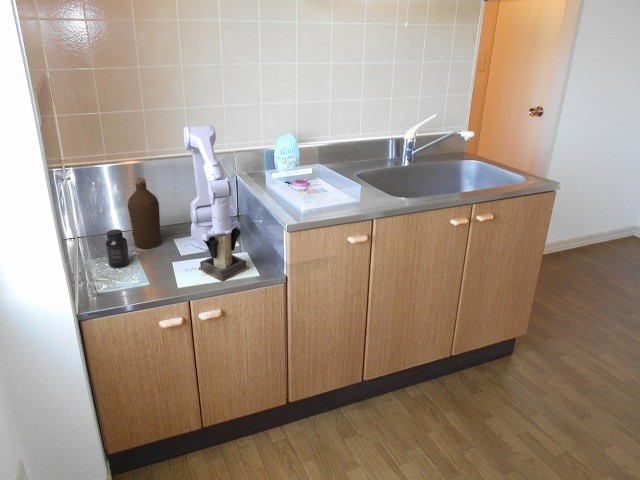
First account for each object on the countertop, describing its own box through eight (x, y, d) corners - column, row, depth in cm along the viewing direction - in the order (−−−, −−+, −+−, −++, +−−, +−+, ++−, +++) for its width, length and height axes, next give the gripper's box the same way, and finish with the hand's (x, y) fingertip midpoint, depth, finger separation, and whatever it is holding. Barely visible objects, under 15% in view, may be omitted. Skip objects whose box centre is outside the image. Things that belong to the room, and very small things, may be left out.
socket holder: (198, 269, 167) (197, 261, 166) (225, 258, 176) (224, 250, 174) (222, 281, 160) (221, 273, 159) (248, 268, 169) (248, 260, 168)
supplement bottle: (134, 261, 171) (129, 229, 166) (120, 270, 165) (116, 237, 160) (117, 258, 173) (113, 226, 168) (104, 266, 167) (98, 234, 162)
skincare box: (226, 270, 164) (224, 237, 159) (213, 269, 165) (211, 235, 160) (232, 262, 170) (231, 229, 165) (220, 260, 171) (219, 228, 166)
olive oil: (166, 238, 189) (160, 175, 178) (157, 250, 179) (149, 184, 169) (139, 237, 189) (131, 174, 179) (128, 249, 180) (119, 183, 169)
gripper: (211, 225, 152) (214, 264, 158) (245, 212, 163) (247, 249, 169) (196, 219, 156) (199, 257, 162) (231, 207, 167) (232, 243, 172)
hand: (222, 253), depth 166 cm, fingers closed on skincare box, 7 cm apart
